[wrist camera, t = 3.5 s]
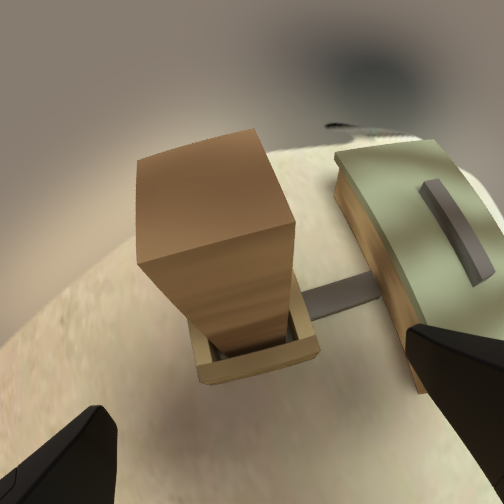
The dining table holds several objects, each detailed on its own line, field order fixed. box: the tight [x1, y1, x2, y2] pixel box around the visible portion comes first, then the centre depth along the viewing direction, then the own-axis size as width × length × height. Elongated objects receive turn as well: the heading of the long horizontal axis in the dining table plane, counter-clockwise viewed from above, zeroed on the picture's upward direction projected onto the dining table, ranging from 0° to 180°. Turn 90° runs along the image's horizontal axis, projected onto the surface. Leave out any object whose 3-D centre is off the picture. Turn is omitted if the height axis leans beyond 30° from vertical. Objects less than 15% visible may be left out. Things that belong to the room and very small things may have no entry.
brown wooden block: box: [136, 129, 296, 358], centre depth 14 cm, size 4×4×14 cm
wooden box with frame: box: [187, 139, 504, 394], centre depth 18 cm, size 19×24×6 cm
